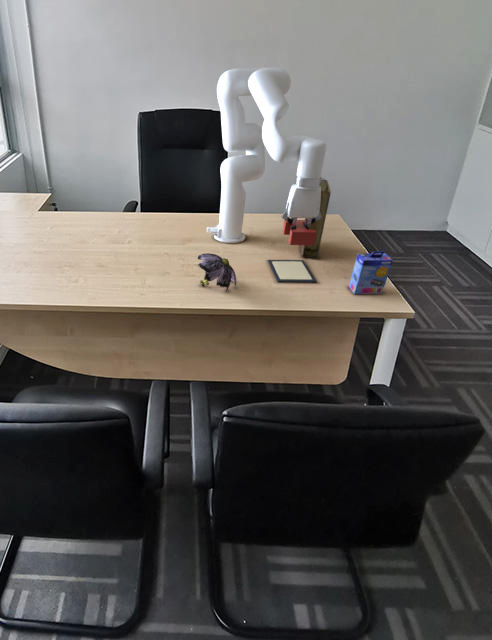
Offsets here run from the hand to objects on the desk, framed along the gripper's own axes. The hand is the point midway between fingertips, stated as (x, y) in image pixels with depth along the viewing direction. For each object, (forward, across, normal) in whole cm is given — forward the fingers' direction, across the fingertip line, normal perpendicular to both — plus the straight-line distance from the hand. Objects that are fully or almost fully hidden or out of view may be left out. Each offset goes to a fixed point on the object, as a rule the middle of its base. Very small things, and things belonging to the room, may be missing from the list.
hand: (298, 236), depth 166 cm
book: (+13, -11, -19) cm, 25 cm away
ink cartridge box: (+13, -21, +15) cm, 29 cm away
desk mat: (+13, 0, 0) cm, 13 cm away
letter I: (+1, 0, 0) cm, 1 cm away
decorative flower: (+13, +28, +12) cm, 33 cm away
